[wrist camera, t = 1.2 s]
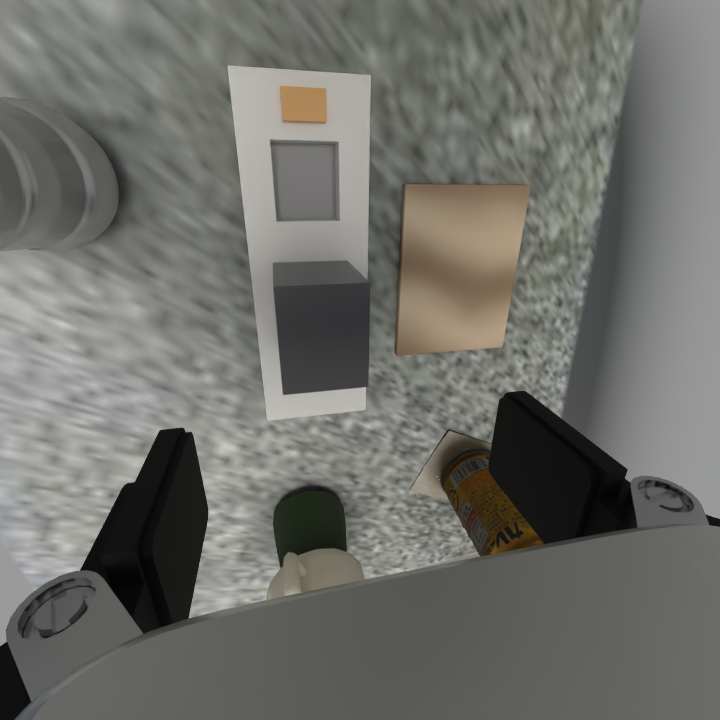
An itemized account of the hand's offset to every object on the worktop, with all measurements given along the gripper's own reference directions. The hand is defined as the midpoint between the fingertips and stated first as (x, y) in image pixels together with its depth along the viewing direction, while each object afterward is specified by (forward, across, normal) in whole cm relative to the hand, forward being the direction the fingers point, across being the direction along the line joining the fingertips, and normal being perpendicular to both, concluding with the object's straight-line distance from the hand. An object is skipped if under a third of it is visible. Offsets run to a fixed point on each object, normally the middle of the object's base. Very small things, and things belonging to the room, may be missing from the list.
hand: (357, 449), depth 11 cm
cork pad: (+17, -11, -2) cm, 20 cm away
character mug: (+18, +1, +19) cm, 26 cm away
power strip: (+17, 0, -3) cm, 17 cm away
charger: (+15, 0, -1) cm, 15 cm away
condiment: (+18, -14, +17) cm, 28 cm away
